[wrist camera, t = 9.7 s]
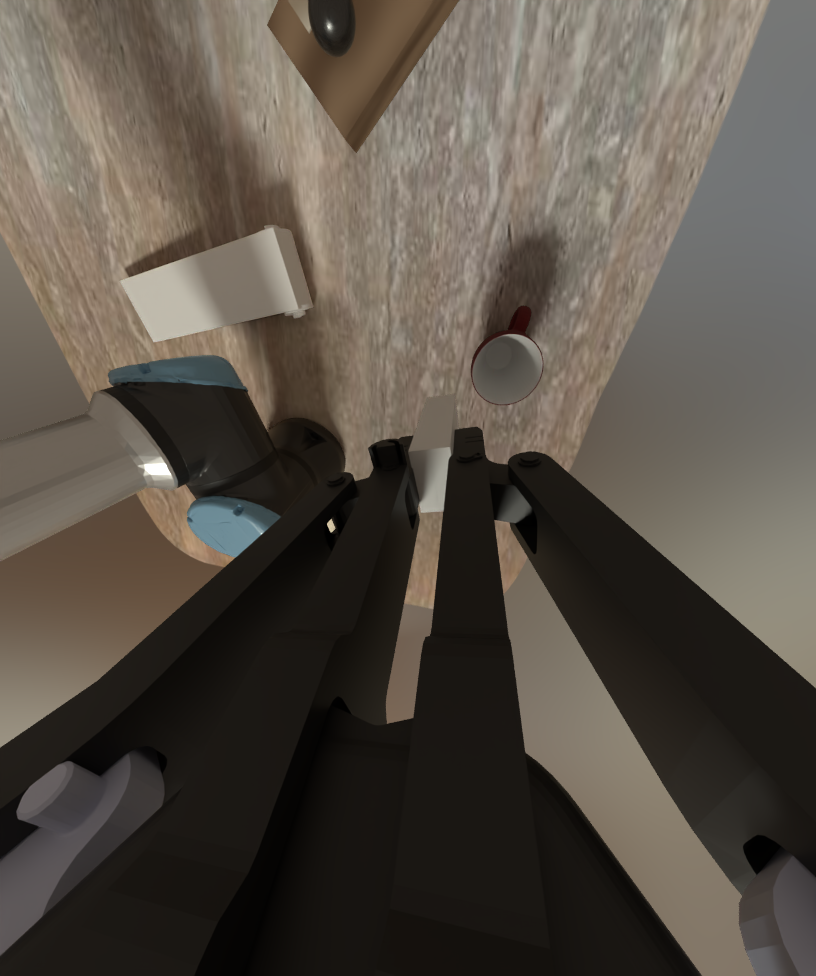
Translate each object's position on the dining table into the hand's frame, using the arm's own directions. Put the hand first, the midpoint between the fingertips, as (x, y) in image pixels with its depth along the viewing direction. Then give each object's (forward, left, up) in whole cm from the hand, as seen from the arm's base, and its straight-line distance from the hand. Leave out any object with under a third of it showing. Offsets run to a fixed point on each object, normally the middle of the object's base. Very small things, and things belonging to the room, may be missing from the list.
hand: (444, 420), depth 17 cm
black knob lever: (-8, +28, -27) cm, 40 cm away
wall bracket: (-33, +12, -33) cm, 48 cm away
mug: (+6, -2, -33) cm, 33 cm away
